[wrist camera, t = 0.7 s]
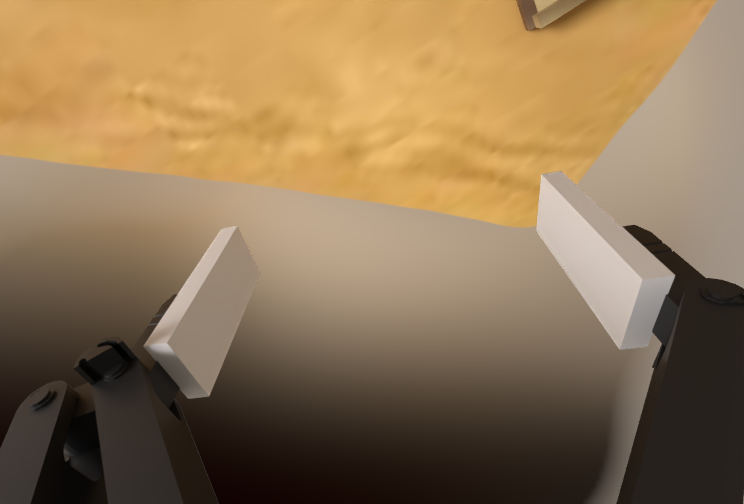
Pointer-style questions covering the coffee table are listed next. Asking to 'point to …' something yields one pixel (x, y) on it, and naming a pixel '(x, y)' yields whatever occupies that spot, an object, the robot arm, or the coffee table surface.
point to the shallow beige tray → (544, 11)
